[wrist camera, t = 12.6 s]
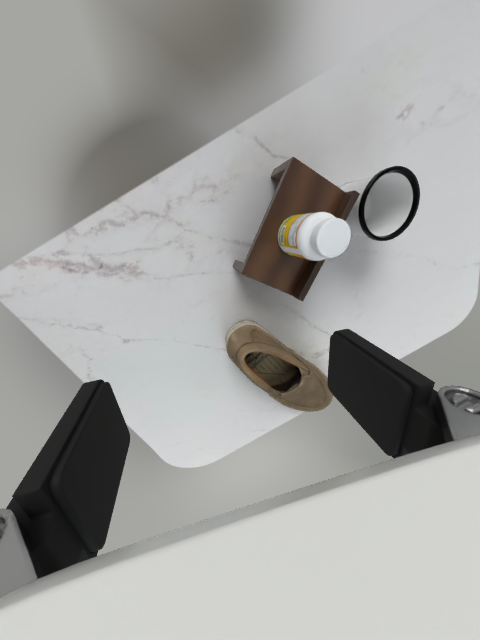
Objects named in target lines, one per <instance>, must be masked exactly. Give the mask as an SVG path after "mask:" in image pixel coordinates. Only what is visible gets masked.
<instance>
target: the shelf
mask: <svg viewBox="0 0 480 640" xmlns="http://www.w3.org/2000/svg"><path fill="white" fill-rule="evenodd" d="M271 178H273V179H275V180H276V181H278V182H279V184H278V186H277V189H276V191H275V193H274V196H273V198H272V200H271V202H270V205H269V207H268V209H267V212H266V214H265V216H264V218H263V221H262V223H261V225H260V227H259V230H258V232H257V234H256V237H255V239H254V241H253V243H252V246H251V248H250V250H249V253H248V255H247V257H246V259H245V262H244V263H242V262H239V261H237V260H235V262H234V264H233V267H234V268H235V269H237V270H238V271H239V272H240V273H241V274H243V275H246V276H248V277H250V278H253V279H255V280H257V281H260V282H262V283H264V284H267V285H269V286H271V287H274V288H276V289H278V290H280V291H283V292H285V293H287V294H290V295H292V296H294V297H295V298H297V299H299V300H301V301H303V300H304V298H305V296H306V294H307V293H308V291H309V289H310V287H311V285H312V283H313V281H314V279H315V278H316V276H317V274H318V272H319V270H320V268H321V266H322V264H323V263H324V261H325V259H324V260H321V261H313V260H308V259H304V258H301V257H297V256H293V255H289V254H287V253H285V252H284V251H283V250H282V249H281V247H280V245H279V242H278V232H279V229H280V226H281V225H282V223H283V222H284V221H285V220H286V219H287V218H289V217H291V216H294V215H299V214H308V213H316V212H327V213H330V214H332V215H333V216H335V217H336V218H340V219H343V220H344V221H346V219H347V217H348V216H349V214H350V212H351V210H352V208H353V206H354V204H355V202H356V201H357V199H358V197H359V195H360V193H358V192H357V191H355V190H354V191H349V192H344V191H343V190H341V189H340V188H338V187H337V186H335V185H334V184H332V183H331V182H330V181H328V180H327V179H325V178H324V177H322V176H321V175H319V174H318V173H316V172H315V171H313V170H312V169H310V168H309V167H308V166H306V165H305V164H303V163H302V162H300V161H299V160H297V159H296V158H294V157H292V158H291V159H289V160H288V161H286V162H285V163H283V164H281V165H280V166H278V167H277V168H275V169H274V171H273V173H272V175H271Z"/></svg>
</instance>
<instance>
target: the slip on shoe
mask: <svg viewBox="0 0 480 640" xmlns="http://www.w3.org/2000/svg"><path fill="white" fill-rule="evenodd" d="M225 340H226V348H227V353H228V355H229V357H230V359H232V361H233V362H234V363H235V364H236V365H237V367H238V368H239V369H240V370H241V371H242V372H243V373H244V374H245V375H246V376H247V377H248V378H249V379H250V380H251V381H252V382H253V383H255V384H256V385H257V386H258V387H260V388H261V389H263V390H264V391H265V392H267V393H268V394H269V395H270V396H271V397H273V398H274V399H276V400H277V401H278V402H280V403H282V404H283V405H285V406H287V407H290V408H293V409H296V410H301V411H318V410H322V409H324V408H325V407H327V406H328V405H329V404H330V403H331V401H332V398H333V394H332V393H331V392H330V390H329V388H328V385H327V381H328V378H327V377H326V376H325V375H324V374H323V373H322V372H321V371H320V370H319V369H318V368H317V367H316V366H315V365H313V364H312V363H310V362H309V361H307V360H305V359H303V358H302V357H301V356H299V355H298V354H296V353H295V352H294V351H293V350H291V349H289V348H288V347H286V346H285V345H283V344H282V343H281V342H280V341H278V340H277V339H276V338H275V337H273V336H272V335H271V334H270V333H269V332H268V331H267V330H265V329H264V328H263V327H261V326H260V325H258V324H257V323H255V322H253V321H249V320H244V321H241V322H239V323H237V324H235V325H234V326H233V327H232V328H231V329H230V330H229V331H228V333H227V335H226V338H225Z"/></svg>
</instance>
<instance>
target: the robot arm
mask: <svg viewBox="0 0 480 640" xmlns="http://www.w3.org/2000/svg"><path fill="white" fill-rule="evenodd" d="M434 384H435V382H433V381H432V380H430V379H429V378H427V377H425V376H423V375H422V374H420V373H419V372H417V371H416V370H414V369H412V368H411V367H409V366H408V365H406V364H404V363H403V362H401V361H399V360H398V359H396V358H395V357H393V356H391V355H390V354H388V353H387V352H385V351H383V350H382V349H380V348H379V347H377V346H375V345H374V344H372V343H370V342H369V341H367V340H366V339H364V338H362V337H361V336H359V335H358V334H356V333H354V332H353V331H351V330H349V329H344V330H339V331H335V332H334V333H333V335H332V336H331V338H330V351H329V366H328V381H327V385H328V388H329V390H330V392H331V393H332V394H333V395H334V396H335V397H336V398H337V400H338V401H339V402H340V403H341V404H342V405H343V406H344V407H345V409H346V410H347V411H348V412H349V413H350V414H351V415H352V416H353V418H354V419H355V420H356V421H357V422H358V423H359V424H360V425H361V427H362V428H363V429H364V430H365V431H366V432H367V433H368V434H369V436H370V437H371V438H372V439H373V440H374V441H375V442H376V443H377V444H378V446H379V447H380V448H381V449H382V450H383V451H384V452H385V453H386V454H387V455H389V456H392V457H393V458H394V459H391V460H388V461H385V462H382V463H379V464H375V465H372V466H369V467H366V468H363V469H360V470H357V471H353V472H350V473H347V474H344V475H341V476H338V477H335V478H332V479H328V480H325V481H322V482H319V483H316V484H313V485H310V486H307V487H304V488H300V489H297V490H295V491H291V492H288V493H285V494H282V495H279V496H276V497H273V498H270V499H267V500H264V501H260V502H258V503H254V504H252V505H248V506H245V507H242V508H239V509H236V510H233V511H230V512H227V513H224V514H221V515H218V516H215V517H212V518H209V519H206V520H203V521H200V522H197V523H194V524H191V525H188V526H185V527H182V528H179V529H175V530H172V531H169V532H166V533H163V534H161V535H158V536H154V537H151V538H148V539H145V540H143V541H140V542H137V543H134V544H131V545H128V546H125V547H122V548H119V549H117V550H114V551H111V552H108V553H105V554H102V555H100V556H97V553H98V550H100V549H102V548H103V546H104V544H105V541H106V537H107V533H108V529H109V525H110V521H111V517H112V513H113V509H114V505H115V500H116V496H117V492H118V488H119V484H120V480H121V476H122V472H123V468H124V464H125V460H126V455H127V452H128V447H129V443H130V434H129V431H128V428H127V425H126V423H125V420H124V418H123V415H122V413H121V410H120V408H119V405H118V403H117V400H116V398H115V396H114V393H113V391H112V388H111V386H110V384H109V383H108V382H104V381H103V380H96V381H91V382H86V383H84V384H83V385H82V386H81V388H80V390H79V391H78V393H77V394H76V396H75V398H74V399H73V401H72V402H71V404H70V405H69V407H68V409H67V410H66V412H65V413H64V415H63V417H62V418H61V420H60V421H59V423H58V425H57V426H56V428H55V429H54V431H53V432H52V434H51V436H50V437H49V439H48V440H47V442H46V444H45V445H44V447H43V448H42V450H41V452H40V453H39V455H38V456H37V458H36V460H35V461H34V462H33V464H32V466H31V468H30V469H29V470H28V472H27V474H26V475H25V477H24V478H23V480H22V482H21V483H20V485H19V486H18V488H17V489H16V491H15V493H14V495H13V496H12V497H13V499H12V500H11V502H10V503H9V505H8V506H7V508H6V509H0V640H480V392H478V391H475V390H472V389H469V388H465V387H460V386H445V387H442V388H440V390H439V391H438V392H437V391H435V390H434V389H433V387H434Z"/></svg>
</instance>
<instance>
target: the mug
mask: <svg viewBox="0 0 480 640" xmlns="http://www.w3.org/2000/svg"><path fill="white" fill-rule="evenodd" d="M340 189H341V190H343V191H344V192H349V191H354V190H355V191H357V192H358V193H360V195H359V197H358V199H357V201H356V202H355V204H354V206H353V208H352V210H351V212H350V214H349V216H348V217H347V219H346V221H345V222H346V223H347V224H348V225H349V228H350V231H351V236H368V237H369V238H371V239H373V240H377V241H387V240H390V239H393V238H395V237H397V236H398V235H400V234H401V233H402V232H403V231H404V230H405V229H406V228H407V227H408V226H409V225H410V223H411V222H412V220H413V218H414V216H415V214H416V212H417V209H418V205H419V200H420V188H419V184H418V180H417V178H416V176H415V175H414V174H413V172H412V171H410V170H409V169H407V168H405V167H402V166H394V167H389V168H386V169H384V170H382V171H380V172H379V173H378V174H376V175H375V176H374V177H370V178H366V179H362V180H359V181H355V182H351V183H348V184H346V185H344V186H342V187H341V188H340Z"/></svg>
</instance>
